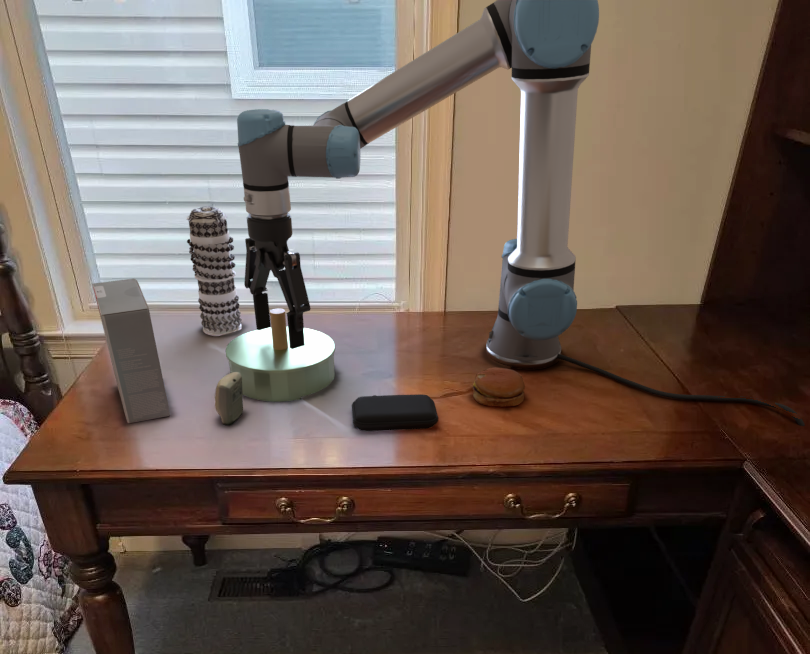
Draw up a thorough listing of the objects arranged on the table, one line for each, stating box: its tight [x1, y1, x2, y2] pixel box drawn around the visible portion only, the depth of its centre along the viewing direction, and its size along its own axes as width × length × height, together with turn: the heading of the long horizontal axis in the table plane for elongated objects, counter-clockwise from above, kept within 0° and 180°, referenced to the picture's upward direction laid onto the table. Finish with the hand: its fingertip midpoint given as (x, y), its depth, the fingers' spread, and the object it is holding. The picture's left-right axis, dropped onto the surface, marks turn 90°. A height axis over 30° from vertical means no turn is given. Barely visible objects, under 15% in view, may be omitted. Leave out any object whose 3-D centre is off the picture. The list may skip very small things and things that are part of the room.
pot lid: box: [225, 307, 336, 373], centre depth 140 cm, size 20×20×8 cm
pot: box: [227, 353, 336, 403], centre depth 144 cm, size 20×20×6 cm
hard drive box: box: [92, 278, 171, 424], centre depth 131 cm, size 16×8×20 cm, turn 23°
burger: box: [472, 367, 526, 408], centre depth 138 cm, size 10×9×5 cm
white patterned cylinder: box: [186, 205, 243, 337], centre depth 158 cm, size 9×9×25 cm
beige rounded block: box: [214, 372, 244, 427], centre depth 129 cm, size 6×5×8 cm
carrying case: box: [351, 393, 439, 432], centre depth 132 cm, size 11×3×15 cm
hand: (280, 337), depth 140 cm, fingers open, 11 cm apart
